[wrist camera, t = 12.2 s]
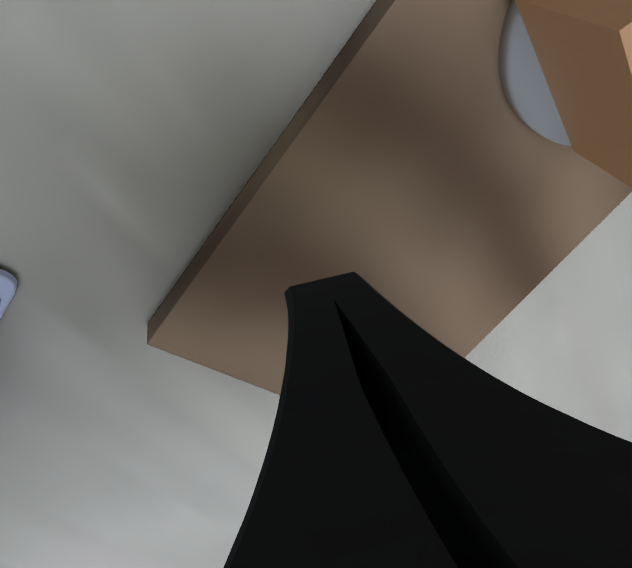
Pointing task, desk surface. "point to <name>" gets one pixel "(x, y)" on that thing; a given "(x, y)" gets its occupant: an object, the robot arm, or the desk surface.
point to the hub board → (398, 192)
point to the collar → (588, 74)
